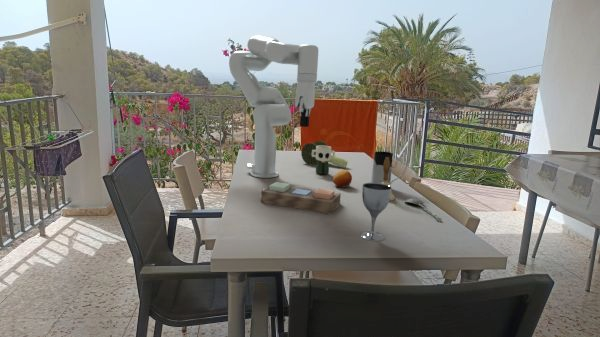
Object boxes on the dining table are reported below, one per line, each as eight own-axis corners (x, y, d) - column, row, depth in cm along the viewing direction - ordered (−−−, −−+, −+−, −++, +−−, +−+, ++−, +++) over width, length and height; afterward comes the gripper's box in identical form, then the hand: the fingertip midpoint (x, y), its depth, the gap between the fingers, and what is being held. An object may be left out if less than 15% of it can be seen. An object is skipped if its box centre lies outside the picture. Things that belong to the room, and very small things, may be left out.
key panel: (261, 202, 141) (261, 191, 140) (274, 193, 152) (275, 183, 151) (330, 213, 133) (331, 202, 132) (339, 204, 144) (340, 193, 143)
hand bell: (382, 201, 150) (386, 160, 146) (368, 195, 157) (372, 155, 153) (399, 199, 153) (404, 159, 150) (385, 193, 160) (389, 154, 157)
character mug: (311, 175, 185) (312, 147, 182) (309, 171, 192) (311, 144, 189) (334, 175, 186) (336, 148, 183) (332, 172, 193) (334, 145, 190)
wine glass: (355, 230, 119) (359, 182, 116) (381, 231, 120) (386, 182, 116) (361, 241, 111) (366, 189, 108) (389, 241, 112) (395, 190, 109)
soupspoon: (417, 204, 153) (401, 204, 152) (418, 195, 152) (402, 196, 151) (448, 222, 132) (429, 223, 131) (448, 212, 131) (430, 213, 130)
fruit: (355, 186, 163) (346, 169, 163) (338, 194, 165) (329, 177, 165) (356, 181, 171) (348, 165, 170) (340, 189, 173) (331, 173, 172)
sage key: (269, 193, 143) (269, 185, 142) (275, 189, 148) (275, 181, 147) (283, 195, 141) (284, 187, 140) (289, 191, 146) (289, 184, 146)
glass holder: (371, 184, 174) (374, 150, 171) (404, 188, 170) (408, 154, 167) (368, 188, 166) (371, 153, 163) (402, 193, 162) (407, 157, 159)
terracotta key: (313, 200, 137) (314, 192, 137) (318, 196, 143) (319, 188, 142) (329, 203, 136) (329, 194, 135) (333, 198, 141) (334, 190, 140)
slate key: (290, 200, 140) (291, 192, 140) (296, 196, 146) (296, 188, 145) (305, 203, 139) (306, 194, 138) (311, 198, 144) (311, 190, 143)
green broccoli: (350, 166, 208) (352, 145, 206) (341, 170, 199) (342, 147, 196) (309, 159, 221) (310, 139, 218) (298, 162, 211) (299, 141, 208)
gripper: (304, 78, 161) (301, 124, 165) (290, 77, 147) (288, 127, 151) (322, 79, 158) (319, 125, 162) (309, 78, 145) (306, 129, 149)
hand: (304, 126), depth 157 cm, fingers closed
